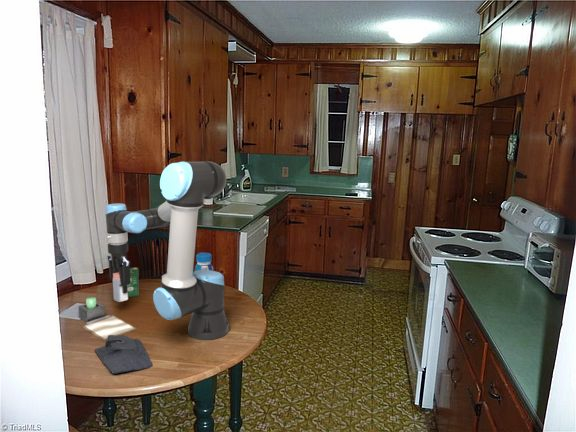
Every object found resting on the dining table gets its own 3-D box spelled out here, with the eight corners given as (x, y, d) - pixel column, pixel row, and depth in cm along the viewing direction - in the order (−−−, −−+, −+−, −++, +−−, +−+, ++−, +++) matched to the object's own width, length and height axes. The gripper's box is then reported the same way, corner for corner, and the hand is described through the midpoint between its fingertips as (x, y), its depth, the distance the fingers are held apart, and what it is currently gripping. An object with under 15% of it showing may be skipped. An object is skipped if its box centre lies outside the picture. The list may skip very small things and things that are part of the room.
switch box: (105, 317, 170) (104, 305, 169) (87, 323, 165) (86, 311, 164) (96, 312, 174) (95, 301, 173) (79, 317, 169) (78, 306, 168)
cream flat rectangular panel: (136, 329, 161) (136, 326, 161) (103, 341, 151) (103, 338, 151) (113, 316, 172) (113, 313, 172) (81, 326, 162) (80, 324, 162)
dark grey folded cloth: (104, 381, 128) (103, 367, 127) (93, 349, 146) (93, 336, 145) (156, 368, 136) (155, 354, 135) (139, 339, 154) (139, 327, 153)
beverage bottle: (190, 298, 193) (190, 255, 189) (201, 292, 200) (201, 250, 197) (206, 301, 190) (206, 258, 186) (217, 295, 197) (217, 253, 194)
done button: (98, 310, 169) (97, 298, 168) (89, 313, 166) (88, 301, 166) (94, 308, 171) (93, 296, 171) (85, 310, 169) (84, 298, 168)
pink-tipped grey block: (128, 299, 174) (126, 273, 172) (119, 302, 170) (117, 275, 169) (123, 297, 176) (121, 271, 174) (113, 299, 173) (112, 273, 171)
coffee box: (138, 293, 196) (137, 266, 193) (139, 296, 193) (138, 268, 191) (119, 296, 192) (118, 268, 189) (120, 298, 189) (119, 270, 187)
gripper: (97, 240, 172) (101, 296, 176) (120, 248, 161) (123, 306, 165) (115, 237, 177) (118, 291, 181) (138, 244, 167) (141, 301, 171)
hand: (120, 298), depth 173 cm, fingers closed on pink-tipped grey block, 4 cm apart
